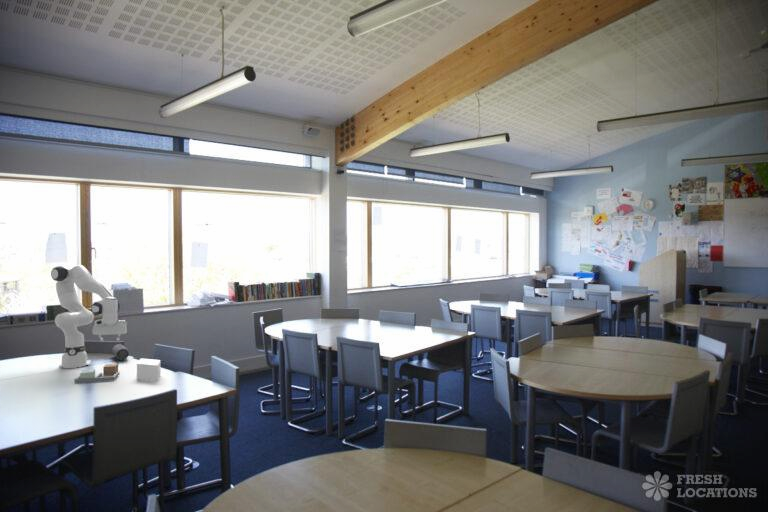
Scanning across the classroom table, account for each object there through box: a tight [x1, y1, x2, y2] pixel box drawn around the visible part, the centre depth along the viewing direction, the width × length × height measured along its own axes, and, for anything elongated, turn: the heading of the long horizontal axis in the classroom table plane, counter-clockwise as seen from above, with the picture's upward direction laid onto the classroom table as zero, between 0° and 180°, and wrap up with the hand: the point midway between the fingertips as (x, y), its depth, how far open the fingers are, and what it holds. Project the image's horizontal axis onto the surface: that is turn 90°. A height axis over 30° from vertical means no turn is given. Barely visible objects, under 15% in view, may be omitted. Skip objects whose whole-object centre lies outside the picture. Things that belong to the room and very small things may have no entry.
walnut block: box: [102, 361, 119, 376], centre depth 316 cm, size 15×7×6 cm, turn 18°
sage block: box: [79, 368, 96, 379], centre depth 296 cm, size 8×7×6 cm
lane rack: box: [74, 371, 120, 384], centre depth 300 cm, size 15×22×2 cm
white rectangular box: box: [136, 357, 161, 382], centre depth 304 cm, size 14×29×10 cm, turn 46°
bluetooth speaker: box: [111, 343, 130, 361], centre depth 358 cm, size 23×9×10 cm, turn 36°
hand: (109, 341), depth 321 cm, fingers open, 8 cm apart
